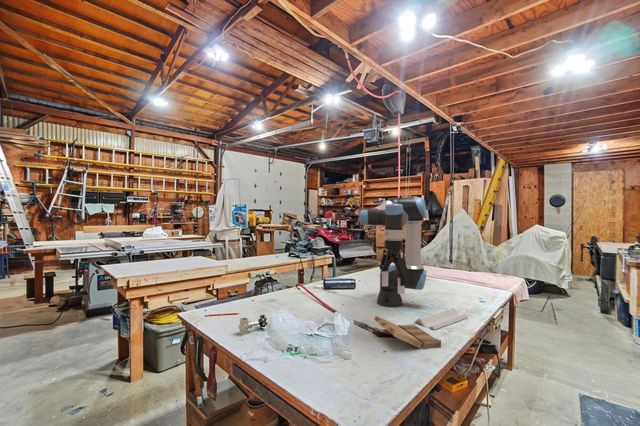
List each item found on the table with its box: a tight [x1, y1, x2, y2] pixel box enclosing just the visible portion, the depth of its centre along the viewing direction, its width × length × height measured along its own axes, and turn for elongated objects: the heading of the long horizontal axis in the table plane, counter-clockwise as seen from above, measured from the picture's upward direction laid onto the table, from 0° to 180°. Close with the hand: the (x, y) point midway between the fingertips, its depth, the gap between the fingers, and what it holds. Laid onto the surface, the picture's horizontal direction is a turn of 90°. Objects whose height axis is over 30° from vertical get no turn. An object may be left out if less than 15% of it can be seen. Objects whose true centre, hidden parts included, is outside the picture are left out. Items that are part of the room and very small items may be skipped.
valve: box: [238, 314, 268, 336], centre depth 128 cm, size 7×7×12 cm
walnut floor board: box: [397, 323, 442, 350], centre depth 124 cm, size 20×8×2 cm, turn 14°
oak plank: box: [373, 315, 422, 349], centre depth 122 cm, size 20×12×2 cm, turn 14°
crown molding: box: [412, 307, 469, 331], centre depth 147 cm, size 31×12×4 cm, turn 126°
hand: (392, 289), depth 122 cm, fingers open, 13 cm apart
